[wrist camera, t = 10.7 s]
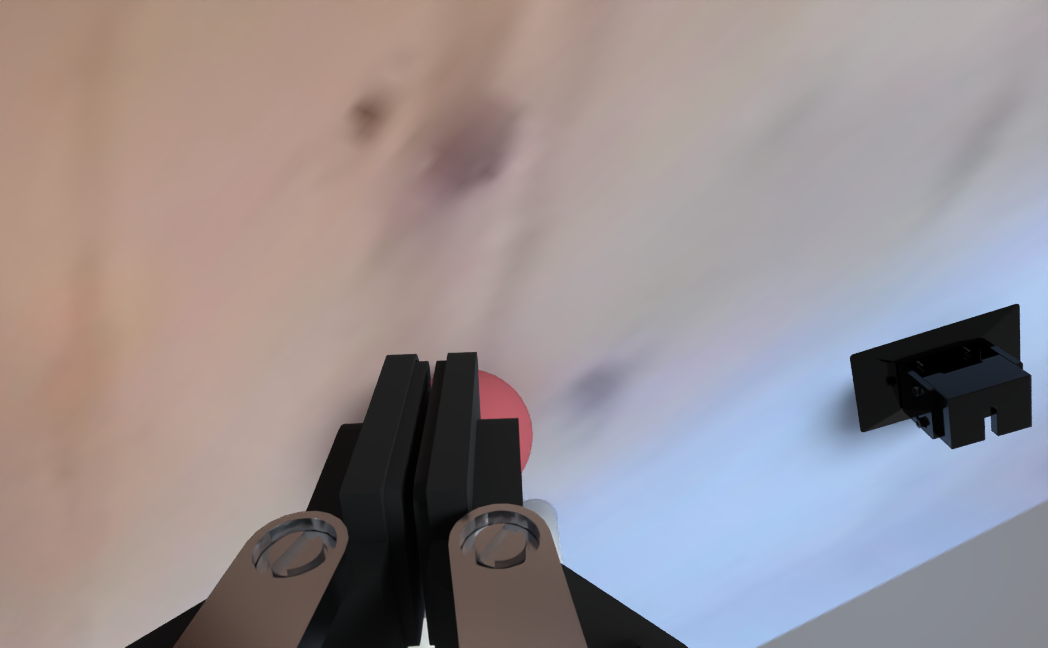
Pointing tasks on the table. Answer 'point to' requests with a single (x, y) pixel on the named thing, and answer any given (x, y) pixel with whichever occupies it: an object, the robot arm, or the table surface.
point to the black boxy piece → (948, 380)
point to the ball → (505, 408)
